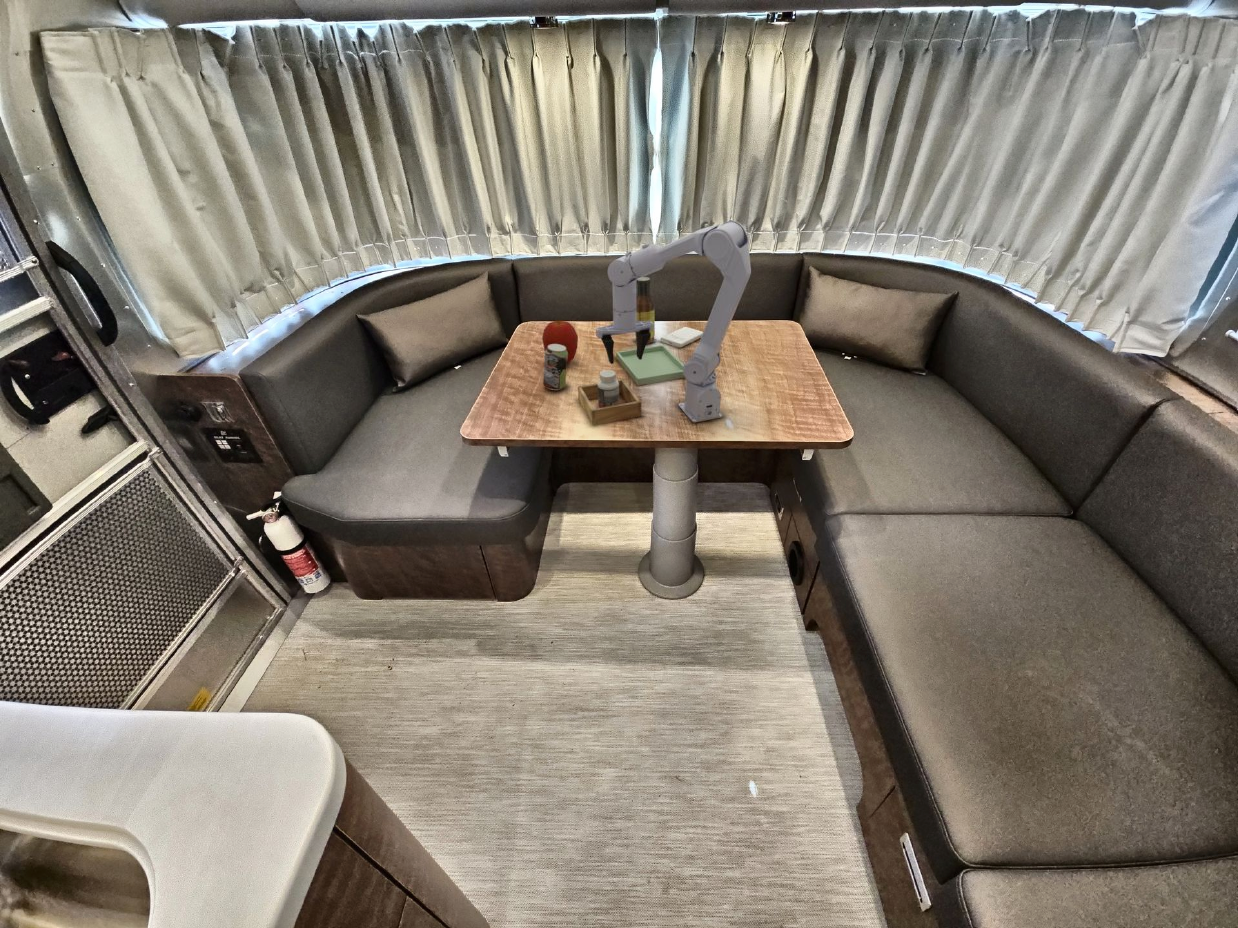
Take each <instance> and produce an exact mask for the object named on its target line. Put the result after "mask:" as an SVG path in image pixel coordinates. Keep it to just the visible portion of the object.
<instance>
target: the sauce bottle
mask: <svg viewBox="0 0 1238 928" xmlns="http://www.w3.org/2000/svg"><path fill="white" fill-rule="evenodd" d="M636 285H637V294H636V322H644V321H651V322H652V323H653V324H654V328H653V331H649V332H650V333H651V337H650V339H649V341H648V342H647V344H646V345H648V344H652V343H654V342H655V336H656V328H655V327H656V323H655V304H654V301H653V297H652V294H651V278H650V277H648V276H643V277H641V278H637V280H636ZM634 333H635V337H636V332H634ZM635 341H636V342H637V339H636V338H635Z"/></svg>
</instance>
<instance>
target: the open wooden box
mask: <svg viewBox="0 0 1238 928" xmlns="http://www.w3.org/2000/svg"><path fill="white" fill-rule="evenodd" d="M616 380H617V381H618V382H619V395H622V396H623V398H624V399H625V401H626V403H621V404H620V403H619V405H614V406H608V407H603V408H599V407H598V408H595V407H594V406H593V405H592V403H591V401H590V400H595V399H598V382H597V383H591V384H586V385H580V386H577V395H578V401H579V403H580V406H581V407H582V408H583V410H584V412H585V414H586V416H587V418H588V419H589V421H590V423H591V425H592V426H596V425H601V424H606V423H611V422H617V421H623V420H627V419H634V418H638V417H642V401H641V400H640V399H639V398H638V396H637V395H636V393H635V392H634V391H633V390H632V388H631V387H630V385H629V384H628V383H627V381H626V380H625V379H624V378H621V379H616Z"/></svg>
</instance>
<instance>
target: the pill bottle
mask: <svg viewBox="0 0 1238 928" xmlns="http://www.w3.org/2000/svg"><path fill="white" fill-rule="evenodd" d="M616 373H617V372H616V371H615V370H612V369H604V370H601V371H600V372H599V380H598V381H597V383H598V398H597V401H598V402H597V404H598V408H603V407H608V406H614V405H619V404H620V394H619V382H618V381H617V380H618V379H617V374H616Z"/></svg>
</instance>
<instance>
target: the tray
mask: <svg viewBox="0 0 1238 928" xmlns="http://www.w3.org/2000/svg"><path fill="white" fill-rule="evenodd" d="M615 359H616V361H618V363H620V365H621V366H622V368H623V369H624V370H625V372H627V375H629V377H630V378H631V379H632V380H633V382H634V383H635V384H636V385H637V386H642V385H649V384H655V383H661V382H667V381H672V380H679V379H683V378H684V379H686V378H685V376H684V374H683V366H684V364H685V363H683V362H682V361H681V360H680V359H679V358H678V357H677V356H676V355H675V354H674V352H672V351H671V350H670V349H669V348H668V347H667V346H666V345H665V344H659V345H652V346H646V347H645V349H644V352H643V356H642V359H641V360H639V359H638V357H637V348H633V349H627V350H620V351H615Z"/></svg>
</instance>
